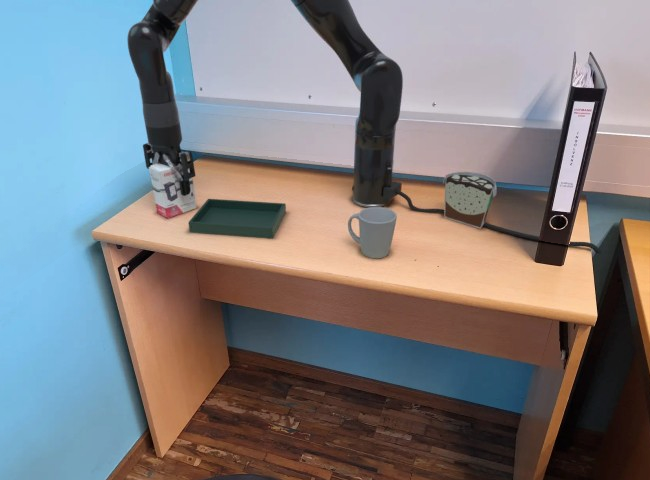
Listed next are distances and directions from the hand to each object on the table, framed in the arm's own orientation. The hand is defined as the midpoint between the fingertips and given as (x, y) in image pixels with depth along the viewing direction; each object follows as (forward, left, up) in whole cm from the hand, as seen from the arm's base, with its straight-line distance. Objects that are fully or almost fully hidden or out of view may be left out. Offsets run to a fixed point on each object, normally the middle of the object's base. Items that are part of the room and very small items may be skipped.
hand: (173, 190), depth 129 cm
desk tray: (-17, +4, -5) cm, 18 cm away
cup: (-48, +13, -5) cm, 50 cm away
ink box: (0, 0, -5) cm, 5 cm away
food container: (-69, -6, -5) cm, 69 cm away
